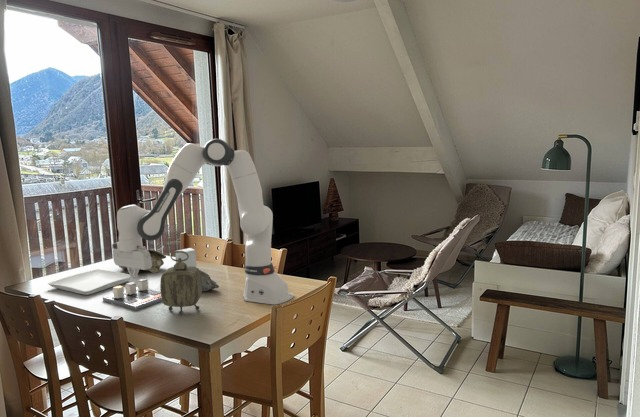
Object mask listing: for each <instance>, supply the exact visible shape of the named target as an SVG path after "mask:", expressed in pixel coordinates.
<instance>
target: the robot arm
mask: <svg viewBox="0 0 640 417" xmlns="http://www.w3.org/2000/svg"><path fill="white" fill-rule="evenodd" d="M205 165H209V166H213V167H222V166H225V167H226V168H227V170H228V172H229V175H230V179H231V182H232V185H233V188H234V192H235V195H236V200H237V207H238V208H237V210H238V214H239V226H240V229H241V231H242V232H243V233H244V234H245V235H246V240H245V246H244V250H245V263H244V273H245V282H244V289H243V294H242V297H243V300H244V302H251V303H260V304H267V305H279V304H280V305H281V304H283V303H286V302H288V301H290V300H291V299H293V298H294V297H295V296H294V293H293V292H289V289H288V284H287V282H286V280H284V279H283V278H282V277H281V276H280V275H279V274H278V273H277V272H276V270H275V269H277V265H273V263H272V235H273V223H274V222H273V220H274V218H273V216H274V214H273V211H272V210H271V208H270V207H269V206H266V205H264V204H265V203H264V198H263V188H262V186H261V185H262V184H261V181H260V178H259V175H258V172H257V169H256V168H257V167H256V166H255V163H254V161H253V158H252V156H251V155H250V152H248V151H247V150H244V149H238V150H234V149H233V148H232V147H231V145H229V144H228V143H227V142H226V141H225V140H223V139H221V138H213V139H210V140H208V141H207V142H206V143H205V144H204V145H203V146H200V145H198V144H196V143H191V142H189V143H186V144H184V145H183V147H181V148H180V149H179V151H178V152H177V153H176V154H175V156H174V158H173V159H172V160H171V163H170V165H169V167H168V169H167V170H166V174H165V177H164V183H163V187H162V191H161V193H160V195H159V197H158V198H157V200H156V202H155V204H154V205H153V206H152V209H151V210H149V209H145V208H143V207H140V206H138V205H137V204H128V205H125V206H122V207H120V208H119V209H118V210H117V213H116V224H117V231H118V241H117V242H114V243H112V244H111V248H112V257H113V258H112V259H113V262H114V265H115V266H118V265H119V266H124V267H127V269H126V270H127V271H128V273H129V275H130V277H131V278H132V279H137V278H139V272H140V270H143V271H148V270H147V269H150V268H151V267H152V262H151V256H150V253H149V251H148V250H149V249H148V248H147V247H146V246H144V245H143V239H144V240H145V241H150V242H151V241H156V240H158V239H160V238H161V237H162V236H163V235H164V232H165V227H166V226H165V224H166V219H167V217H168V215H169V213H170V212H171V210H172V208H173V207H174V205H175V203H176V201H177V200H178V198H179V197H180V196H181V195H182V194H183V193H184V191H185V190H187V188H188V187H189V186H190V185H191V183H192V182H193V181H194V179H195V178H196V177H197V174H198V173H199V171H200V169H201V168H202V167H203V166H205ZM119 266H118V267H119ZM139 269H140V270H139Z"/></svg>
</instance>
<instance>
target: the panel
mask: <svg viewBox="0 0 640 417" xmlns="http://www.w3.org/2000/svg"><path fill="white" fill-rule="evenodd" d="M102 302H104V303H108V304H110V305H114V306H117V307H121V308H125V309H128V310H132V311H134V312H136V311H138V310H142V309H144V308H147V307H151V306H153V305H156V304H159V303H163V301H162V297H161V290H160V291H159V290H156V289H152V288H148V289H146V290H143V291H141V290H138V286H136V293H134V294H131V295H130V294H127V293H126V289H124V297H121V298H114V296H113V293H112V294H109V295H106V296H105V295H104V296H103V297H102Z"/></svg>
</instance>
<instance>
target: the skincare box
mask: <svg viewBox="0 0 640 417" xmlns="http://www.w3.org/2000/svg"><path fill="white" fill-rule="evenodd" d="M176 251H184V252H186V253H187V254H188V255H189V258H188V259H187V260H186V261H182V262H184V263H185V264H186V265H187V266H192V267H196V268H197V253H196V250H195V249H194V248H192V247H188V248H183V249H179V250H176ZM174 254H175V260H178V259H179V258H181V260H184V259H186V258H187V257H188V256H187V255H186V254H185V253H174ZM176 263H177V261H175V264H176Z"/></svg>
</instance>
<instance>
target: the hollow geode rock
mask: <svg viewBox="0 0 640 417" xmlns="http://www.w3.org/2000/svg"><path fill="white" fill-rule="evenodd" d="M147 250H148V251H149V253H150V256H151V262H152V267H151V268H150V269H147V270H146V271H148V272H151V273H152V274H157V273H158V272H160V270H161V267H162V266H163V265H164V264H165V263H164V260H165V259H167V256H166V255H165V254H162V253H161V252H159V251H158V250H155V249H147ZM117 266H118V268H120V269H121V270H124V271H125V270H127V267H124V266H119V265H117ZM140 270H141V269H139V271H140Z"/></svg>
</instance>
